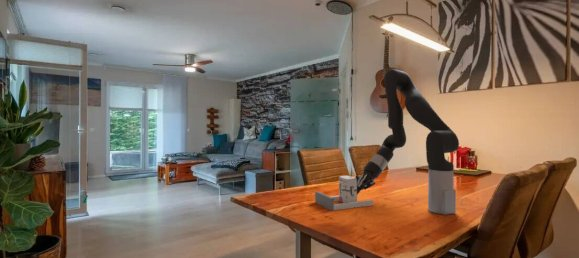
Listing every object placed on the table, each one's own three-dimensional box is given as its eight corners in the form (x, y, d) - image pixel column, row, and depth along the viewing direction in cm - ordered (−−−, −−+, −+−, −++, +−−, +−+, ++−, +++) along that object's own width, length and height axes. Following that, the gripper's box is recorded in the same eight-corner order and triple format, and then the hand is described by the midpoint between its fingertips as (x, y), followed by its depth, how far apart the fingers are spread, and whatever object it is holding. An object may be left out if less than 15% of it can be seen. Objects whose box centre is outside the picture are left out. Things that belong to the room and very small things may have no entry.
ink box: (338, 201, 139) (338, 175, 139) (348, 200, 141) (348, 175, 141) (347, 206, 131) (347, 179, 131) (357, 205, 133) (357, 178, 133)
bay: (372, 205, 132) (373, 194, 132) (330, 210, 124) (330, 198, 124) (354, 198, 145) (354, 187, 145) (315, 202, 137) (315, 191, 137)
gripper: (362, 159, 146) (341, 186, 142) (380, 162, 134) (357, 192, 130) (371, 169, 149) (350, 196, 144) (389, 173, 136) (367, 202, 132)
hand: (353, 194), depth 137 cm, fingers closed
